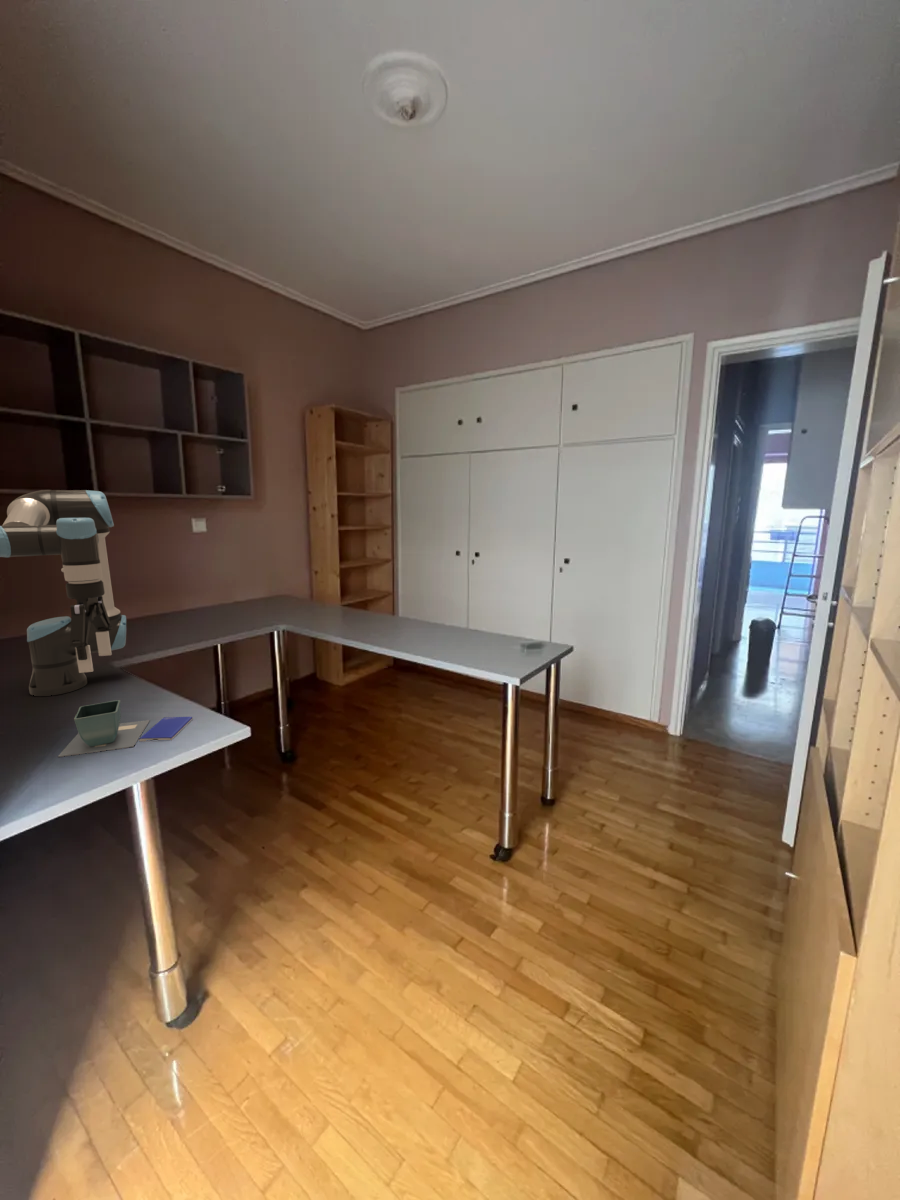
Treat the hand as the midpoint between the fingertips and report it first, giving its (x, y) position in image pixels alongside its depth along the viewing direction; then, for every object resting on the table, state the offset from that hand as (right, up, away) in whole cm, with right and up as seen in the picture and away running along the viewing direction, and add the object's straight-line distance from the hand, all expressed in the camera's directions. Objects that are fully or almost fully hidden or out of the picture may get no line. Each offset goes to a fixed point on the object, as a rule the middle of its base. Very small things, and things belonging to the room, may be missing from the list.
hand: (96, 663), depth 124 cm
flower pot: (+1, -21, +1) cm, 21 cm away
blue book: (+13, -20, +9) cm, 25 cm away
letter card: (0, -20, +4) cm, 21 cm away
